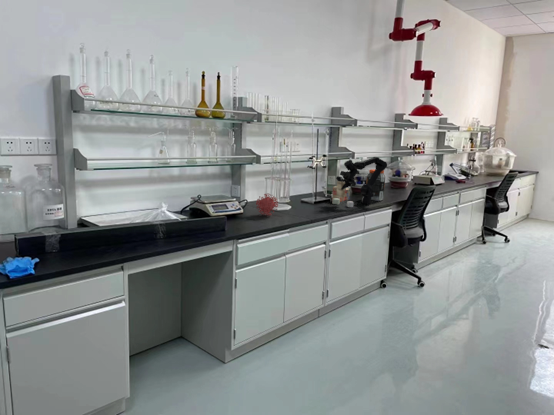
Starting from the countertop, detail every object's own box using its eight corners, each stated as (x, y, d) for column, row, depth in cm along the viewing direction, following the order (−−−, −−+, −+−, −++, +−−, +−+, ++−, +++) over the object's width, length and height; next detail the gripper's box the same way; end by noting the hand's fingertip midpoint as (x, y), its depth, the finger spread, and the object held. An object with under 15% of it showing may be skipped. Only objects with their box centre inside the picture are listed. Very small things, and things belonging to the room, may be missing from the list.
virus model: (282, 216, 280) (283, 194, 277) (265, 218, 270) (266, 196, 268) (267, 212, 291) (268, 191, 288) (251, 214, 281) (252, 192, 278)
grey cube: (351, 206, 329) (352, 201, 328) (353, 207, 325) (353, 202, 324) (346, 206, 328) (347, 201, 327) (348, 207, 324) (348, 202, 324)
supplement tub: (386, 201, 361) (389, 171, 356) (369, 201, 357) (372, 170, 352) (378, 197, 376) (380, 169, 371) (362, 197, 372) (364, 168, 367)
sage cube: (339, 203, 339) (339, 198, 338) (338, 204, 334) (338, 199, 333) (333, 202, 340) (333, 198, 340) (332, 203, 336) (332, 199, 335)
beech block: (340, 196, 330) (341, 181, 328) (344, 197, 326) (345, 182, 324) (336, 196, 328) (337, 181, 325) (339, 197, 324) (341, 182, 322)
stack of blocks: (343, 198, 365) (344, 184, 363) (349, 199, 362) (350, 185, 359) (331, 201, 348) (332, 186, 345) (338, 202, 344) (339, 187, 342)
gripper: (338, 166, 332) (326, 180, 329) (354, 168, 317) (342, 183, 313) (345, 175, 338) (333, 189, 334) (361, 178, 322) (349, 193, 319)
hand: (339, 188), depth 325 cm, fingers closed on beech block, 4 cm apart
